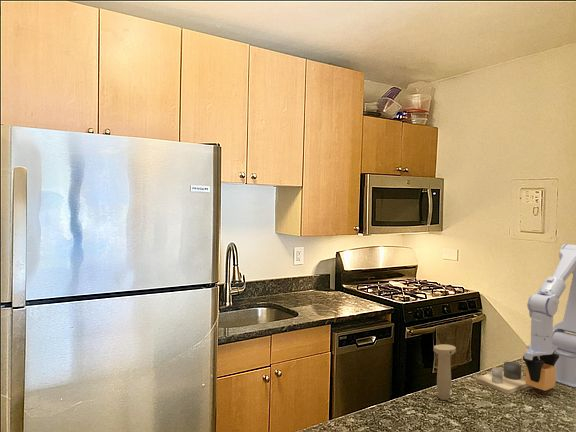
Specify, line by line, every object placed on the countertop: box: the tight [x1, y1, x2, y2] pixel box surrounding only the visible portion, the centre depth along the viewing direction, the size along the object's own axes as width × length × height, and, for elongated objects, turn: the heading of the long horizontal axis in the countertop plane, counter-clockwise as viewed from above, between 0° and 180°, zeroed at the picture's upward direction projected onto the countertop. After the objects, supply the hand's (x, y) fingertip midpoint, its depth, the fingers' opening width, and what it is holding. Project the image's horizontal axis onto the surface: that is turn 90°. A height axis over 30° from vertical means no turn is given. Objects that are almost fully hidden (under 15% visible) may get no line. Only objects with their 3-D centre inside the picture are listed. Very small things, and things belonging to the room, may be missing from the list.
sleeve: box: [525, 363, 556, 391], centre depth 135 cm, size 6×6×6 cm
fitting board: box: [474, 361, 531, 395], centre depth 142 cm, size 14×11×5 cm
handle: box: [432, 343, 457, 401], centre depth 130 cm, size 5×6×15 cm
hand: (540, 378), depth 135 cm, fingers closed on sleeve, 6 cm apart
